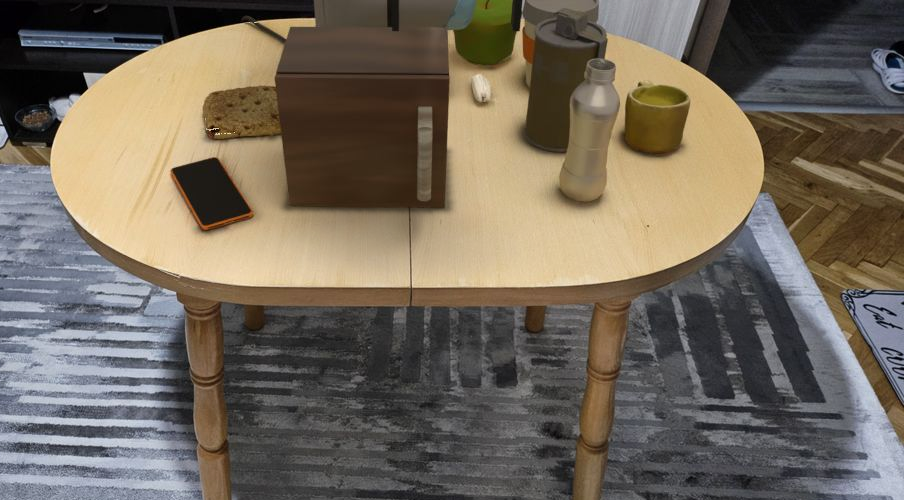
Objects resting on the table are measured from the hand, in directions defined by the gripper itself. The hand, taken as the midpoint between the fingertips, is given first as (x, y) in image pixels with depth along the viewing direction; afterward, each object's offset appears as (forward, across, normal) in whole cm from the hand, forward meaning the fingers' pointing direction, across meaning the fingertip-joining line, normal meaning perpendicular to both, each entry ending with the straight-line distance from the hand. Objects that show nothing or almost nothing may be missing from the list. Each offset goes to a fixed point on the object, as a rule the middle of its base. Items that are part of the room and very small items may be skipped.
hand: (455, 26), depth 92 cm
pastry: (+28, -32, +30) cm, 52 cm away
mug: (+29, +33, +24) cm, 50 cm away
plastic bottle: (+29, +19, +8) cm, 36 cm away
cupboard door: (+28, -11, +2) cm, 31 cm away
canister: (+29, +18, +24) cm, 42 cm away
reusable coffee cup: (+28, +20, +43) cm, 55 cm away
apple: (+28, +8, +53) cm, 61 cm away
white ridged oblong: (+28, +7, +38) cm, 48 cm away
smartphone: (+28, -34, +8) cm, 45 cm away
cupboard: (+28, -11, +13) cm, 33 cm away
